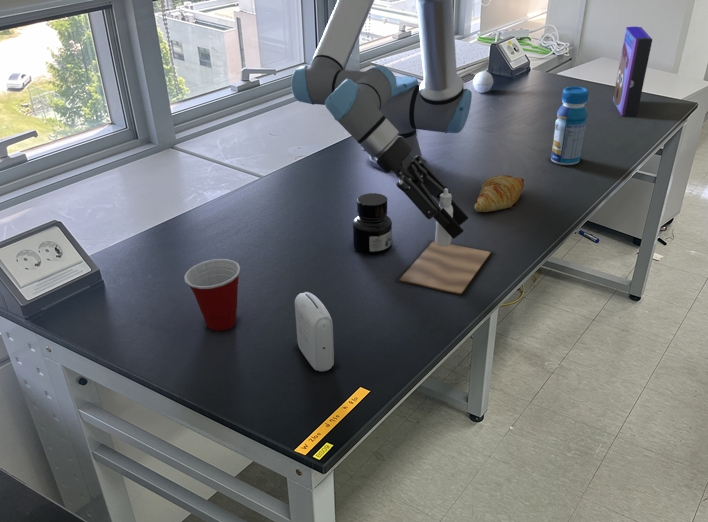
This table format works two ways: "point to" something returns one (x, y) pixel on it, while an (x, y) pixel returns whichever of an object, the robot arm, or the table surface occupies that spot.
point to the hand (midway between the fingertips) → (461, 228)
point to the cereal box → (632, 71)
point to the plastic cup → (215, 291)
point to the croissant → (499, 193)
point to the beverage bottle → (570, 126)
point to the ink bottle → (372, 225)
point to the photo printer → (314, 331)
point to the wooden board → (446, 267)
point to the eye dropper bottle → (441, 234)
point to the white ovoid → (483, 82)
